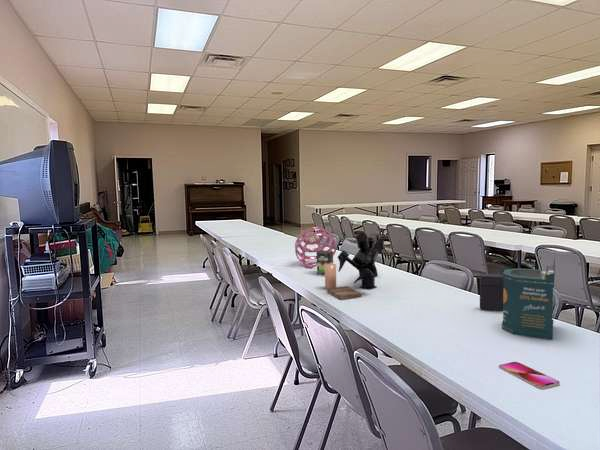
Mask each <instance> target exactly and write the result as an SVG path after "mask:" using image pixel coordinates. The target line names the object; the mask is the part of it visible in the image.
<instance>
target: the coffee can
mask: <svg viewBox="0 0 600 450" xmlns="http://www.w3.org/2000/svg"><path fill="white" fill-rule="evenodd" d="M333 252H334V250H332V251H327V250H324V251H317V252H315V253H316V256H317V259H316V262H317V265H316V275H317V276H318V275H319V276H318V277H325V264H334V256H333Z"/></svg>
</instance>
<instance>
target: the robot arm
mask: <svg viewBox="0 0 600 450" xmlns="http://www.w3.org/2000/svg"><path fill="white" fill-rule="evenodd" d="M355 240H356V245H357V248H358V249H359V250H358V251H357V252H356V253H355V255H354V256H353V257H352V258H350V257H349V256H350V253H348V251H346V250H342V251H341V252H339V255H338V256H337V259H338V261H339V267H338V271H337V272H341V270H342V268H343V267H344V265H345V263H346V262H348V263H349V264H350V265H351V266H353V268H355V269H356V270H357V271H358V274H359V276H358V277H357V278H356V279H355V281H353V284H356V283H357V282H359V281H361V285H360V286H359V287H360V288H362V289H365V290H371V289H375V288H378V286H377V285H376V284H375V279H376V278H378V269H377V266H376V261H377V258H378V256H379V255H380V254H382V253H383V252H384V250H385V248H386V247H385V246H386V245H385V241H384V239H383V238H382V237H381V236H380V234H378V233H370V234H369V235H367V234H366V233H365V232H361V233H360V234H358V235H356V236H355Z"/></svg>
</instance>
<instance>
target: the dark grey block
mask: <svg viewBox="0 0 600 450" xmlns="http://www.w3.org/2000/svg"><path fill="white" fill-rule="evenodd" d="M503 293H504V280H503V274H488V273H487V274H486V273H484V274H480V275H479V309H480V311H487V312H489V311H490V312H500V313H501V312H502V313H503Z"/></svg>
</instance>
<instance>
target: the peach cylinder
mask: <svg viewBox="0 0 600 450" xmlns="http://www.w3.org/2000/svg"><path fill="white" fill-rule="evenodd" d="M335 287H338V286H337V264H335V263H333V264H325V276H324V289H325V291H327V288H335Z"/></svg>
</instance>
